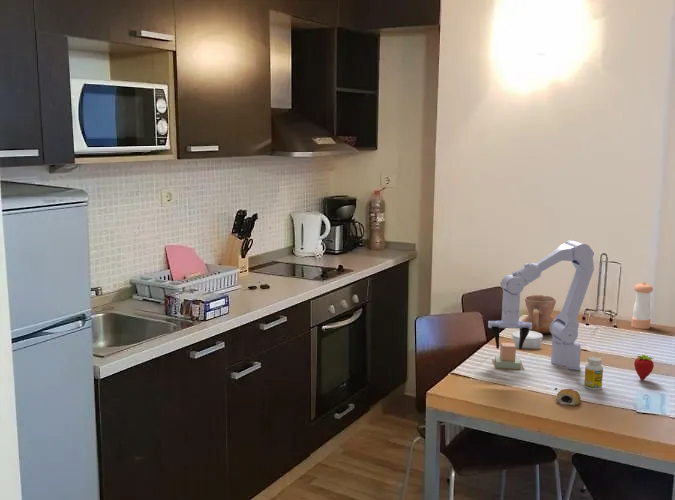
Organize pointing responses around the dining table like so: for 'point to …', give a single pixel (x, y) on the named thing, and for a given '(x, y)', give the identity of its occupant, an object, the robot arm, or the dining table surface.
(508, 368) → the tower base
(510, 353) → the terracotta block
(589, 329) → the dining table surface
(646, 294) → the pepper shaker
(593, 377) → the supplement bottle
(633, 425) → the dining table surface
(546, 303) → the ceramic jug
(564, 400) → the pastry
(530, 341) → the ramekin
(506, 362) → the tower top
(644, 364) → the strawberry
